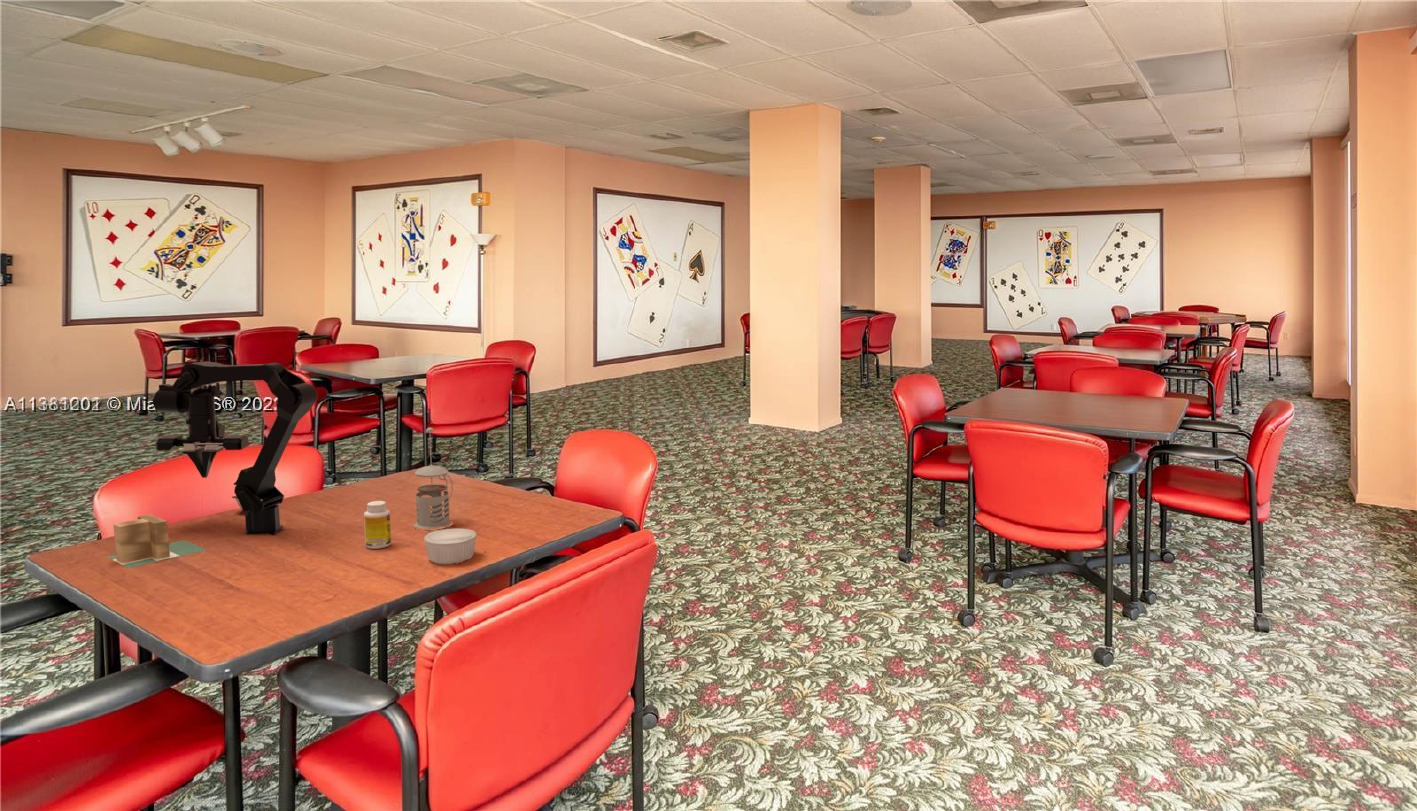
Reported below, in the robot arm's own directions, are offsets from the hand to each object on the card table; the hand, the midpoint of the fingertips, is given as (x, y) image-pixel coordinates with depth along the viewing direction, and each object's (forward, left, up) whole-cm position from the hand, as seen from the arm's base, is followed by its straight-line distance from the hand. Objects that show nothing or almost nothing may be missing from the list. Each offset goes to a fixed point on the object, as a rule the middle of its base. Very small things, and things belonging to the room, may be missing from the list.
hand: (204, 477), depth 204 cm
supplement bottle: (-44, +19, -13) cm, 50 cm away
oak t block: (+5, +22, -13) cm, 26 cm away
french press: (-54, +2, -13) cm, 56 cm away
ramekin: (-62, +30, -14) cm, 70 cm away
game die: (-4, -16, -13) cm, 22 cm away
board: (+2, +20, -13) cm, 24 cm away
